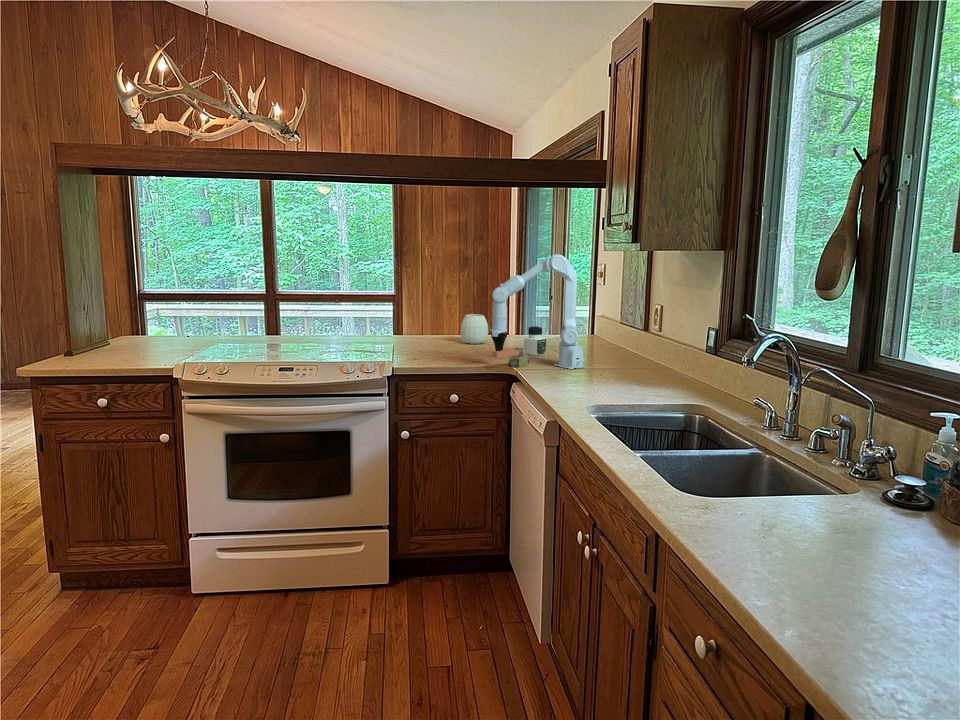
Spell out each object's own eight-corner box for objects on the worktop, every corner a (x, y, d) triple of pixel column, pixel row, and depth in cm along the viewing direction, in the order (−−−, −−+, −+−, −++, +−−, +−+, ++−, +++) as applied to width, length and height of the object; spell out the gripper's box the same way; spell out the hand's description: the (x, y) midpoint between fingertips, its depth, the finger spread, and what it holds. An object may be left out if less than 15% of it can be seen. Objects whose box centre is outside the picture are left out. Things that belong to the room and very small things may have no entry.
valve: (531, 366, 268) (531, 355, 267) (515, 368, 264) (515, 357, 263) (521, 363, 273) (522, 353, 272) (506, 365, 268) (506, 355, 268)
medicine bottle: (537, 355, 292) (537, 328, 290) (523, 354, 297) (524, 326, 294) (546, 353, 298) (546, 326, 296) (532, 352, 302) (532, 325, 300)
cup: (454, 343, 324) (455, 315, 322) (471, 340, 335) (472, 313, 332) (476, 346, 317) (477, 317, 314) (493, 343, 327) (494, 315, 325)
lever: (520, 353, 270) (520, 347, 270) (525, 354, 267) (525, 348, 267) (492, 356, 262) (492, 350, 261) (497, 358, 259) (497, 351, 259)
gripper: (494, 315, 274) (493, 349, 276) (484, 319, 260) (484, 354, 262) (511, 316, 272) (510, 350, 274) (502, 320, 258) (502, 355, 260)
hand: (499, 352), depth 268 cm, fingers closed
